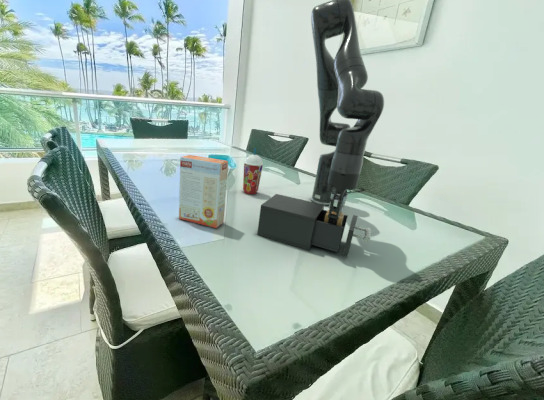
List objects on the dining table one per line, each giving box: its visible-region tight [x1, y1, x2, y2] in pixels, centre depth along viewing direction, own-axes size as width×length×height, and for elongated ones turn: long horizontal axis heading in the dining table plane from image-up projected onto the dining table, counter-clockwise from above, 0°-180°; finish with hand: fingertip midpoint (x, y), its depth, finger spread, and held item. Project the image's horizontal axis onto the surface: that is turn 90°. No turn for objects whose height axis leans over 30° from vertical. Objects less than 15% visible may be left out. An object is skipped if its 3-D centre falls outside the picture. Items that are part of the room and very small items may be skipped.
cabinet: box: [256, 193, 325, 251], centre depth 84 cm, size 16×14×10 cm
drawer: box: [311, 209, 372, 258], centre depth 79 cm, size 19×13×8 cm, turn 61°
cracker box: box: [178, 154, 229, 229], centre depth 86 cm, size 14×6×21 cm, turn 65°
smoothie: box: [242, 147, 264, 195], centre depth 120 cm, size 8×8×20 cm
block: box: [324, 209, 346, 226], centre depth 78 cm, size 4×4×4 cm
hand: (332, 227), depth 78 cm, fingers closed on block, 4 cm apart
